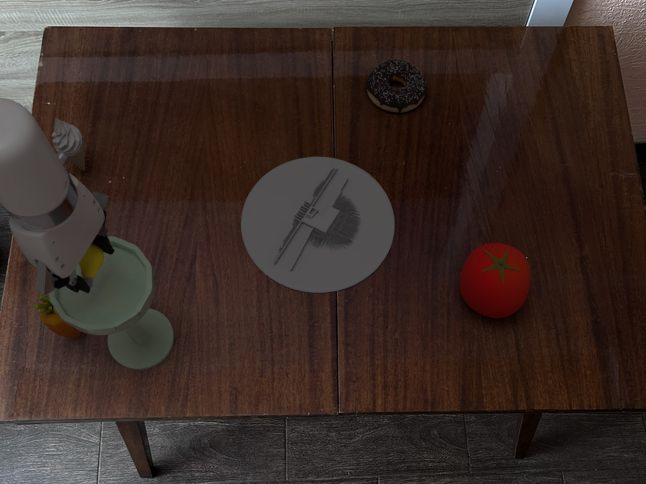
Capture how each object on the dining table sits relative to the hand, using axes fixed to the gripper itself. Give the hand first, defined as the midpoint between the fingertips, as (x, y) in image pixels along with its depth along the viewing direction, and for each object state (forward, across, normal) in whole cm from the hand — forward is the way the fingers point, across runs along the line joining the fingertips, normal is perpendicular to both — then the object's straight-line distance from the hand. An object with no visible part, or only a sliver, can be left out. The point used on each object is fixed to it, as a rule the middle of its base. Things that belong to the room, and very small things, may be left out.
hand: (91, 267), depth 92 cm
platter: (+6, 0, 0) cm, 6 cm away
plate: (+28, -33, +18) cm, 47 cm away
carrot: (+28, +4, -10) cm, 30 cm away
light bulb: (+1, 0, 0) cm, 1 cm away
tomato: (+28, -32, +51) cm, 66 cm away
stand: (+27, 0, 0) cm, 27 cm away
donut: (+28, -66, +20) cm, 74 cm away
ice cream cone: (+28, -25, -26) cm, 45 cm away
